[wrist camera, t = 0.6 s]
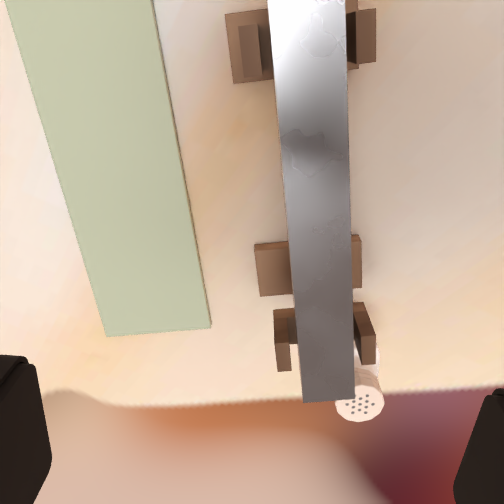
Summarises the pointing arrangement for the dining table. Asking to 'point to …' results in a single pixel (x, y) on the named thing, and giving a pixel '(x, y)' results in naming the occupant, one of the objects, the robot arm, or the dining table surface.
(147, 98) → the board
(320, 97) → the rail
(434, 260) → the dining table surface
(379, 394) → the salt shaker
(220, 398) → the dining table surface
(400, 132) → the dining table surface
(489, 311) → the dining table surface
